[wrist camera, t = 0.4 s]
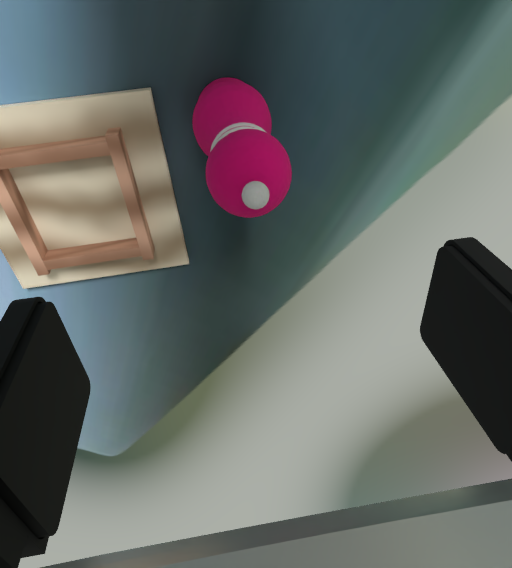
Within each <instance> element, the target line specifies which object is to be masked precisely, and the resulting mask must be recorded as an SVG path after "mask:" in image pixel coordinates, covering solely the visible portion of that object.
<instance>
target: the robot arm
mask: <svg viewBox="0 0 512 568" xmlns="http://www.w3.org/2000/svg"><path fill="white" fill-rule="evenodd" d="M420 333H421V337H422V339H423V341H424V343H425V344H426V346H427V347H428V349H429V350H430V352H431V353H432V355H433V356H434V357H435V359H436V360H437V362H438V363H439V365H440V366H441V368H442V369H443V371H444V372H445V374H446V375H447V377H448V378H449V380H450V381H451V383H452V384H453V386H454V387H455V388H456V390H457V391H458V393H459V394H460V396H461V397H462V399H463V400H464V402H465V403H466V405H467V406H468V407H469V409H470V410H471V412H472V413H473V415H474V416H475V418H476V419H477V421H478V422H479V424H480V425H481V426H482V428H483V429H484V431H485V432H486V434H487V435H488V437H489V438H490V440H491V441H492V443H493V444H494V446H495V447H496V448H497V449H498V451H500V452H501V453H503V454H507V456H508V457H509V459H510V460H511V461H512V270H511V269H510V268H509V267H508V266H507V265H506V264H505V263H503V262H502V261H501V260H500V259H499V258H498V257H496V256H495V255H494V254H493V253H492V252H490V251H489V250H488V249H487V248H486V247H485V246H483V245H482V244H481V243H480V242H479V241H478V240H476V239H475V238H473V237H469V238H461V239H454V240H448V241H447V242H446V243H445V244H444V246H443V247H441V248H440V249H439V250H438V252H437V256H436V261H435V265H434V269H433V274H432V278H431V282H430V287H429V291H428V296H427V300H426V305H425V308H424V313H423V317H422V321H421V326H420ZM89 395H90V381H89V378H88V375H87V373H86V371H85V369H84V367H83V365H82V363H81V361H80V359H79V356H78V354H77V352H76V350H75V348H74V346H73V344H72V342H71V339H70V337H69V335H68V333H67V331H66V329H65V327H64V325H63V323H62V320H61V318H60V316H59V314H58V312H57V310H56V308H55V306H54V304H53V303H52V302H46V301H45V300H44V299H43V298H42V297H34V298H27V299H19V300H14V301H12V302H11V303H10V305H9V307H8V309H7V310H6V312H5V314H4V316H3V318H2V319H1V321H0V568H18V565H19V562H20V558H24V557H29V556H35V555H40V554H45V550H46V546H47V542H48V538H49V536H53V535H54V534H55V533H56V531H57V529H58V526H59V522H60V518H61V514H62V510H63V505H64V501H65V497H66V492H67V488H68V484H69V480H70V476H71V471H72V467H73V463H74V459H75V454H76V450H77V446H78V442H79V438H80V433H81V429H82V425H83V421H84V416H85V412H86V408H87V404H88V399H89ZM41 568H512V479H508V480H502V481H497V482H491V483H486V484H480V485H474V486H469V487H463V488H458V489H452V490H447V491H441V492H436V493H430V494H424V495H419V496H413V497H408V498H402V499H397V500H391V501H386V502H381V503H375V504H369V505H364V506H359V507H353V508H348V509H342V510H338V511H332V512H326V513H321V514H315V515H310V516H305V517H300V518H294V519H288V520H283V521H278V522H273V523H267V524H261V525H256V526H251V527H246V528H240V529H235V530H230V531H224V532H219V533H214V534H209V535H204V536H198V537H193V538H188V539H182V540H177V541H172V542H167V543H161V544H156V545H151V546H146V547H140V548H135V549H130V550H125V551H120V552H114V553H109V554H104V555H99V556H94V557H89V558H85V559H80V560H75V561H70V562H66V563H60V564H56V565H51V566H46V567H41Z"/></svg>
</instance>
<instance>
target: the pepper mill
mask: <svg viewBox="0 0 512 568" xmlns="http://www.w3.org/2000/svg"><path fill="white" fill-rule="evenodd" d="M192 124H193V131H194V135H195V137H196V140H197V143H198V144H199V146H200V148H201V149H202V150H203V152H204V153H205V154H206V155H207V156H208V160H207V164H206V182H207V186H208V188H209V191H210V193H211V195H212V197H213V198H214V200H215V201H216V202H217V204H218V205H219V206H221V207H222V208H223V209H224V210H226V211H227V212H229V213H231V214H234V215H236V216H240V217H245V218H251V217H258V216H262V215H264V214H266V213H268V212H270V211H271V210H273V209H274V208H276V207H277V206H278V205H279V204H280V203H281V202H282V200H283V199H284V198H285V196H286V194H287V192H288V190H289V187H290V183H291V176H292V171H291V164H290V160H289V157H288V154H287V152H286V150H285V149H284V148H283V146H282V145H281V143H280V142H279V141H278V140H277V139H276V138H275V137H273V136H271V126H272V122H271V115H270V112H269V109H268V106H267V104H266V101H265V100H264V98H263V97H262V95H261V94H260V93H259V92H258V91H257V90H256V89H254V88H253V87H252V86H250V85H248V84H246V83H244V82H243V81H241V80H239V79H236V78H231V77H227V78H220V79H217V80H214V81H212V82H211V83H210V84H208V85H207V86H206V87H205V88H204V89H203V91H202V92H201V94H200V96H199V99H198V102H197V104H196V106H195V109H194V113H193V121H192Z"/></svg>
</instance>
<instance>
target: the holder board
mask: <svg viewBox="0 0 512 568" xmlns="http://www.w3.org/2000/svg"><path fill="white" fill-rule="evenodd" d="M0 249H1V250H2V252H3V254H4V256H5V257H6V259H7V261H8V263H9V264H10V266H11V268H12V270H13V271H14V273H15V275H16V277H17V279H18V280H19V282H20V284H21V286H22V287H23V289H25V288H32V287H39V286H46V285H52V284H59V283H66V282H72V281H79V280H86V279H92V278H99V277H106V276H112V275H119V274H126V273H132V272H139V271H146V270H152V269H159V268H166V267H172V266H179V265H186V264H189V257H188V253H187V248H186V244H185V239H184V235H183V230H182V226H181V221H180V217H179V212H178V208H177V203H176V199H175V194H174V190H173V185H172V181H171V176H170V172H169V167H168V163H167V158H166V154H165V150H164V145H163V141H162V136H161V132H160V127H159V123H158V118H157V114H156V109H155V105H154V100H153V96H152V91H151V87H149V88H141V89H132V90H124V91H116V92H107V93H99V94H91V95H82V96H74V97H65V98H57V99H49V100H40V101H32V102H24V103H15V104H7V105H0Z"/></svg>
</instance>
